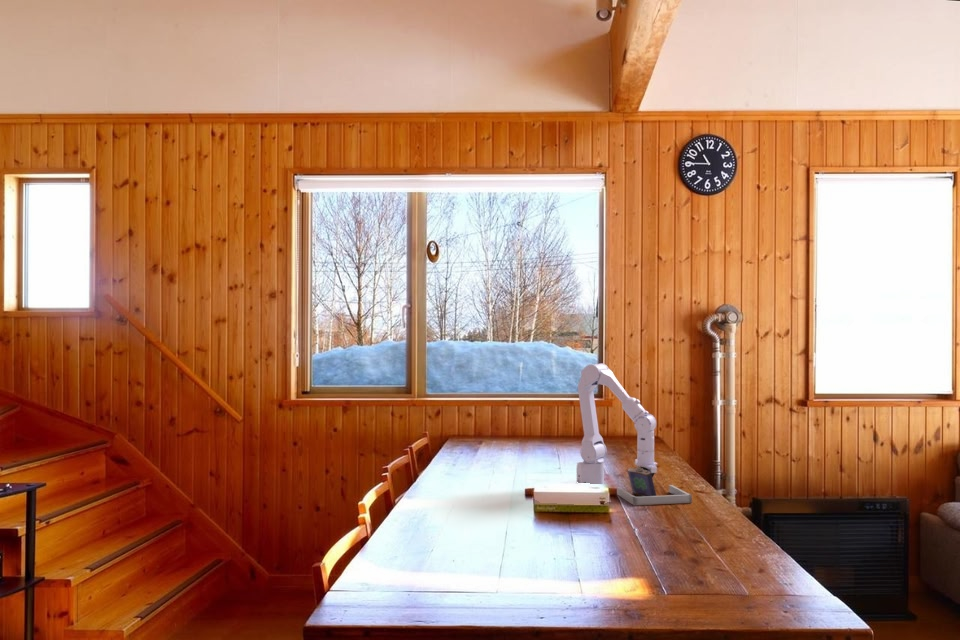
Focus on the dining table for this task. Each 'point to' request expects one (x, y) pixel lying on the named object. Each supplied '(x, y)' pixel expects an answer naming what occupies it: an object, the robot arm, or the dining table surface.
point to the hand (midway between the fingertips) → (645, 489)
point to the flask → (641, 482)
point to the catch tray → (657, 497)
